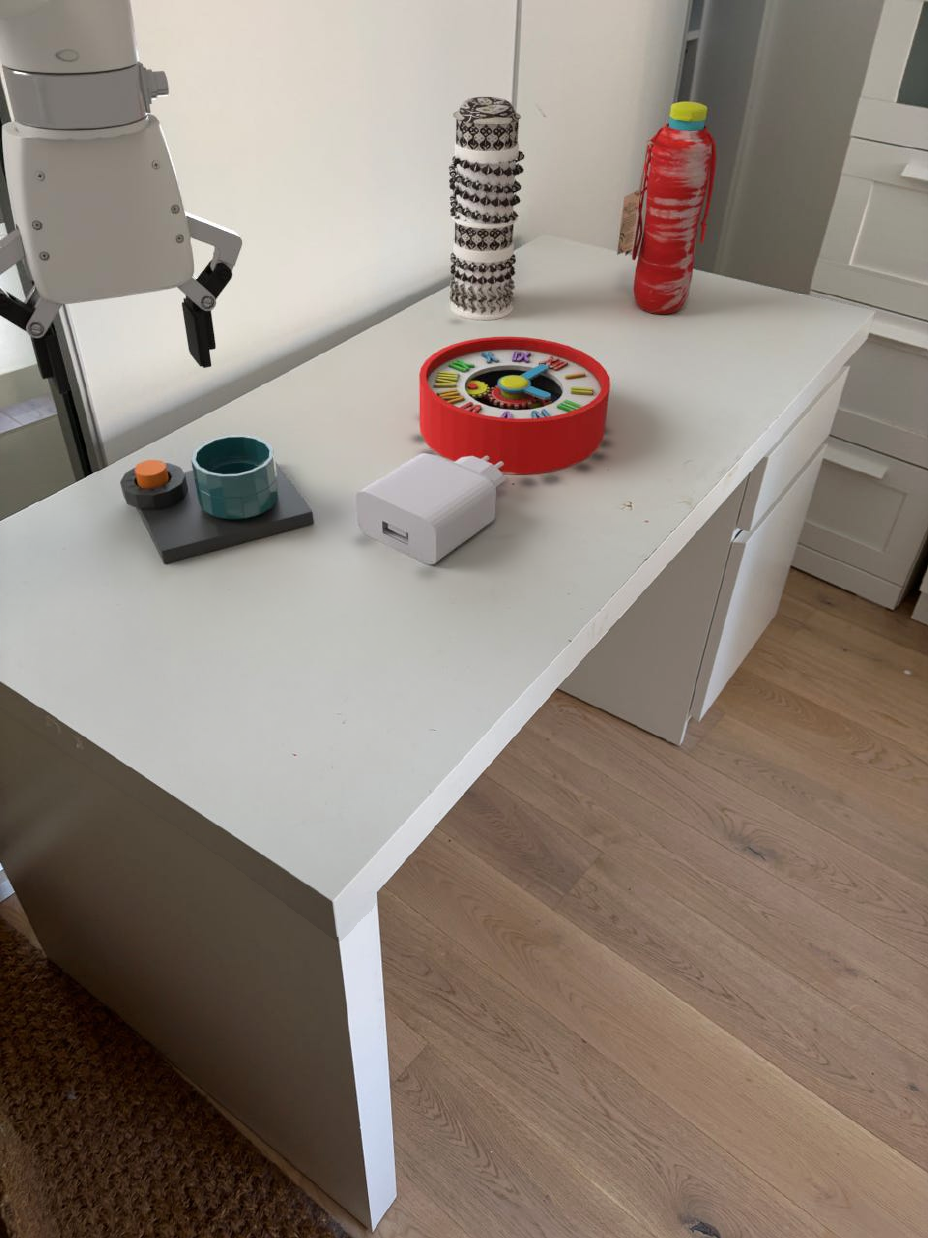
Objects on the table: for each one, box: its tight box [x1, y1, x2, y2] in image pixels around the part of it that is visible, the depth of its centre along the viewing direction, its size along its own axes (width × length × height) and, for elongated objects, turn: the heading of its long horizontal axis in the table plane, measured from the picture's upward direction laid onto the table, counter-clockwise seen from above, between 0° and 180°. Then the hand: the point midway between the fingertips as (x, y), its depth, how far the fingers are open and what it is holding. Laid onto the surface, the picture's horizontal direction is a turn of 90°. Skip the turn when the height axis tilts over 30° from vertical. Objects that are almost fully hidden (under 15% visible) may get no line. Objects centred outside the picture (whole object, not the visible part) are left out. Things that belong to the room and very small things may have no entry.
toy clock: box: [418, 336, 611, 475], centre depth 103 cm, size 20×6×20 cm
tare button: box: [134, 459, 169, 488], centre depth 89 cm, size 3×3×2 cm
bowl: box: [190, 434, 279, 520], centre depth 88 cm, size 7×7×5 cm
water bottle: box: [616, 101, 717, 315], centre depth 124 cm, size 12×8×25 cm, turn 62°
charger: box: [355, 452, 507, 565], centre depth 90 cm, size 5×9×15 cm
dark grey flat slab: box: [119, 460, 315, 565], centre depth 90 cm, size 15×12×3 cm
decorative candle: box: [448, 96, 525, 321], centre depth 122 cm, size 9×9×25 cm
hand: (132, 372), depth 67 cm, fingers open, 9 cm apart
